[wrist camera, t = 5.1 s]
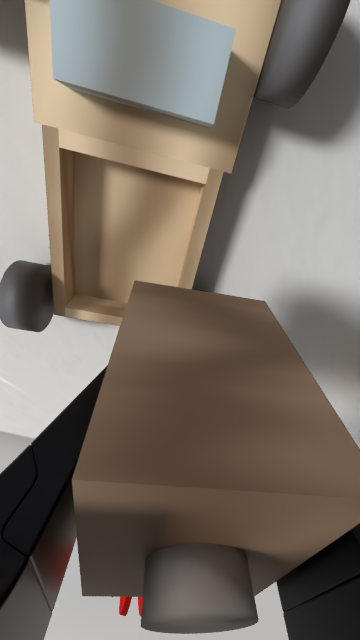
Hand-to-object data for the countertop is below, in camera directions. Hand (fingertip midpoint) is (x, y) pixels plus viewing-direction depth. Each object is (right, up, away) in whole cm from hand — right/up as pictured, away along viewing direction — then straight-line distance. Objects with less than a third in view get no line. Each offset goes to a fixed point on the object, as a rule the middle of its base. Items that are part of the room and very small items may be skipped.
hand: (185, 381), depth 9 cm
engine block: (0, +1, +1) cm, 1 cm away
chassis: (-3, +10, +8) cm, 13 cm away
